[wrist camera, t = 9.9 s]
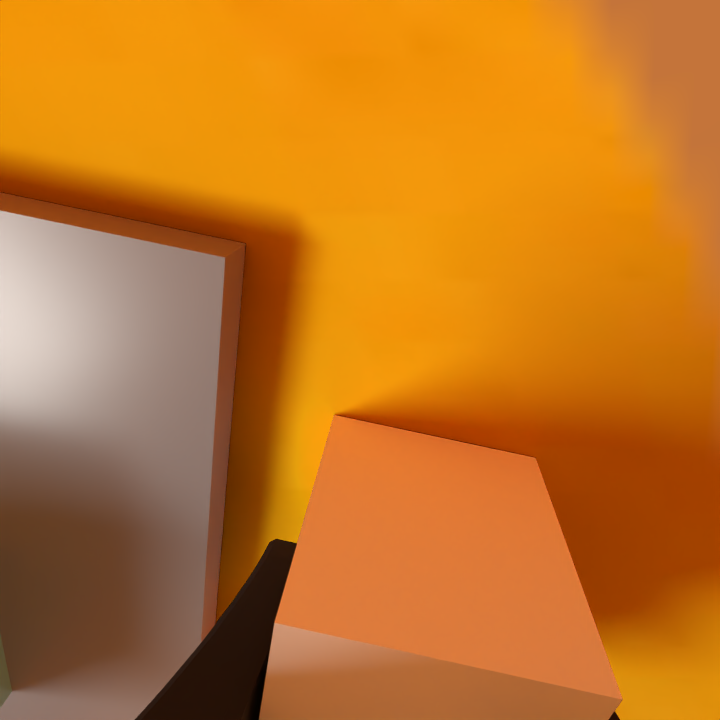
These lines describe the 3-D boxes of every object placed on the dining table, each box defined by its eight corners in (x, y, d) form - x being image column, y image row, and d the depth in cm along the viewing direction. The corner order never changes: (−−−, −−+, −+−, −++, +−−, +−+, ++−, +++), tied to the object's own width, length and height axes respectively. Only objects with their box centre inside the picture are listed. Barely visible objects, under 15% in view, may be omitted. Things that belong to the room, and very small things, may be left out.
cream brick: (454, 651, 12) (473, 911, 8) (295, 616, 12) (236, 857, 8) (535, 458, 10) (622, 698, 6) (333, 414, 10) (274, 622, 6)
